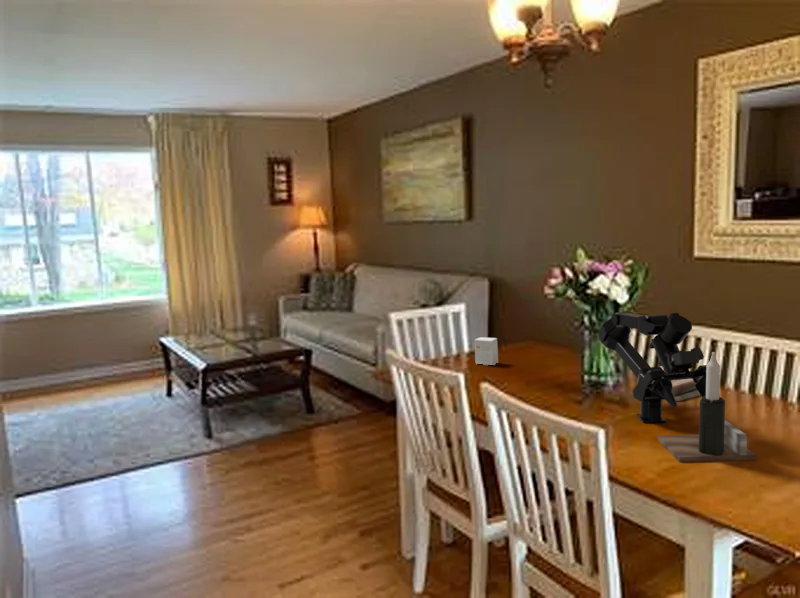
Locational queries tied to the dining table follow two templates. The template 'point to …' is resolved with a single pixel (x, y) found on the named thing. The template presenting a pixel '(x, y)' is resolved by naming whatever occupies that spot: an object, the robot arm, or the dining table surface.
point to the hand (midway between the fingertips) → (692, 405)
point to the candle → (712, 412)
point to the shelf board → (688, 450)
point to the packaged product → (684, 389)
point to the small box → (486, 351)
